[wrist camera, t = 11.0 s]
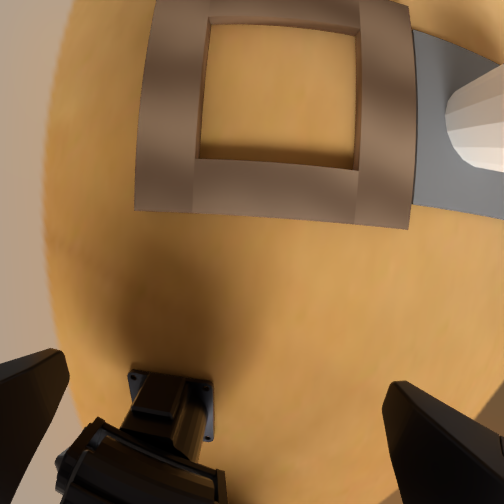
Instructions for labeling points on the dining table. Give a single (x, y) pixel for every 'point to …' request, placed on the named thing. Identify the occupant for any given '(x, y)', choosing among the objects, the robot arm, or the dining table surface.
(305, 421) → the dining table surface
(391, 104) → the board
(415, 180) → the rubber mat
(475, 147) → the white cup
